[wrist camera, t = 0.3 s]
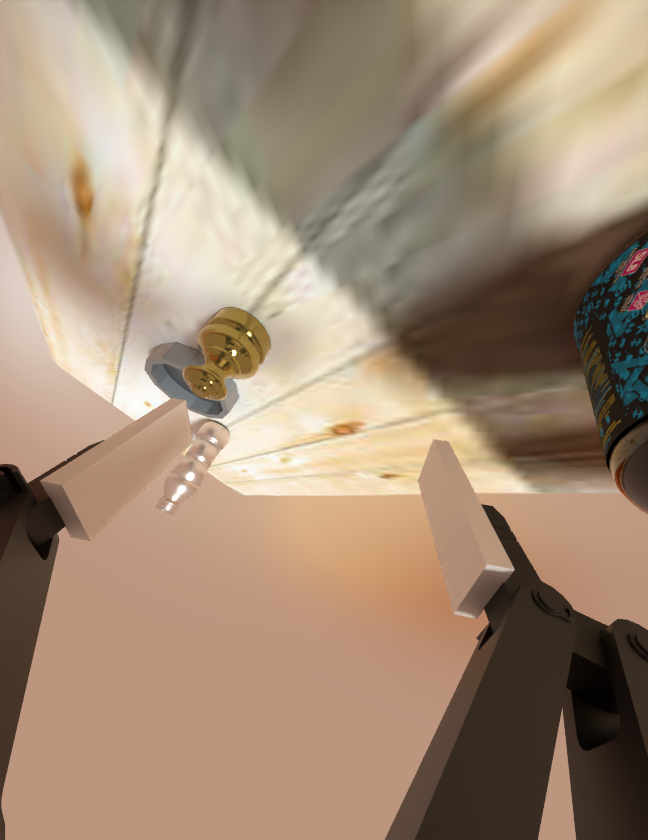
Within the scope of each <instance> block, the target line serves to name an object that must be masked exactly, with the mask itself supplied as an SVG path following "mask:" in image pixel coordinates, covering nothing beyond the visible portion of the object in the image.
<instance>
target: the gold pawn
mask: <svg viewBox="0 0 648 840" xmlns="http://www.w3.org/2000/svg"><path fill="white" fill-rule="evenodd" d="M197 344H198V348H199V350H200V352H201V354H202V358H203V360H204V365H202V366H196V365H189V366H186V367H185V368H184V369H183V371H182V376H183V378H184V380H185V382H186V383H187V385H188V386H189V388H190V389H191V391H192V392H193V393H194V394H195V395H197V396H199V397H201V398H206V399H209V400H215V401H222V400H224V399H225V398H226V397H227V394H228V392H227V388H226V386H225V383H224V381H225V379H249V378H251V377H253V376H254V375H255V374H256V372H257V370H258V368H259V366H260V365H261V364H262V363H263V362H264V360H265V358H266V356H267V355H268V353H269V352H270V349H271V341H270V338H269V335H268V333H267V331H266V330H265V328H264V327H263V326H262V324H261V323H260V322H259V321H258V320H257V319H256V318H254V317H253V316H252V315H250V314H249V313H247V312H245V311H243V310H241V309H237V308H231V307H229V308H224V309H221V310H220V311H219V312H218V313H217V314H216V315H215V317H213V318H212V319H211V320H210V321H209V323H208V325H207V326H205V327H204V328H203V329H201V330H200V332H199V333H198V336H197Z"/></svg>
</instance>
